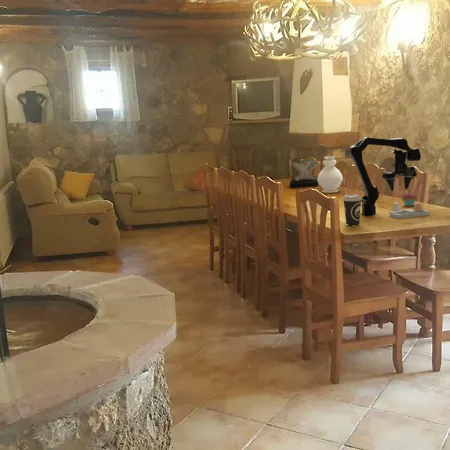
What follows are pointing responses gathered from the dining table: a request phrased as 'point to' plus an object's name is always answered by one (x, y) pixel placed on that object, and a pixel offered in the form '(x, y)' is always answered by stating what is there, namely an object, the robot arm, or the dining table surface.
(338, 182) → the decorative vase
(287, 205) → the dining table surface
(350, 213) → the coffee cup
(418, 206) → the brown egg
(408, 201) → the cupcake
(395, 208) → the cream egg
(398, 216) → the egg carton
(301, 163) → the coral
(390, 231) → the dining table surface
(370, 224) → the dining table surface
